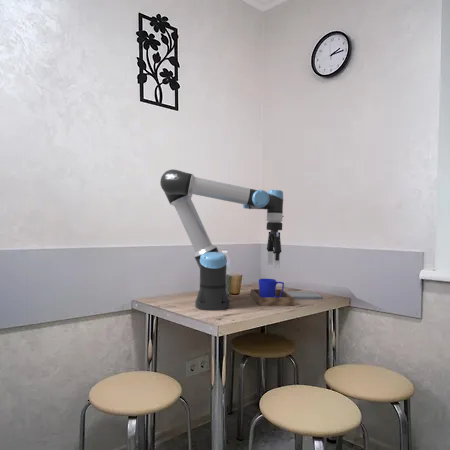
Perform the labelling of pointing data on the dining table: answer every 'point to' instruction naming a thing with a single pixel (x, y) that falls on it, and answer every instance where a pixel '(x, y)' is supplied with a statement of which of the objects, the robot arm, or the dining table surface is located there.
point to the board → (304, 295)
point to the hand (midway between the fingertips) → (273, 266)
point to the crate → (273, 299)
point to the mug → (268, 288)
